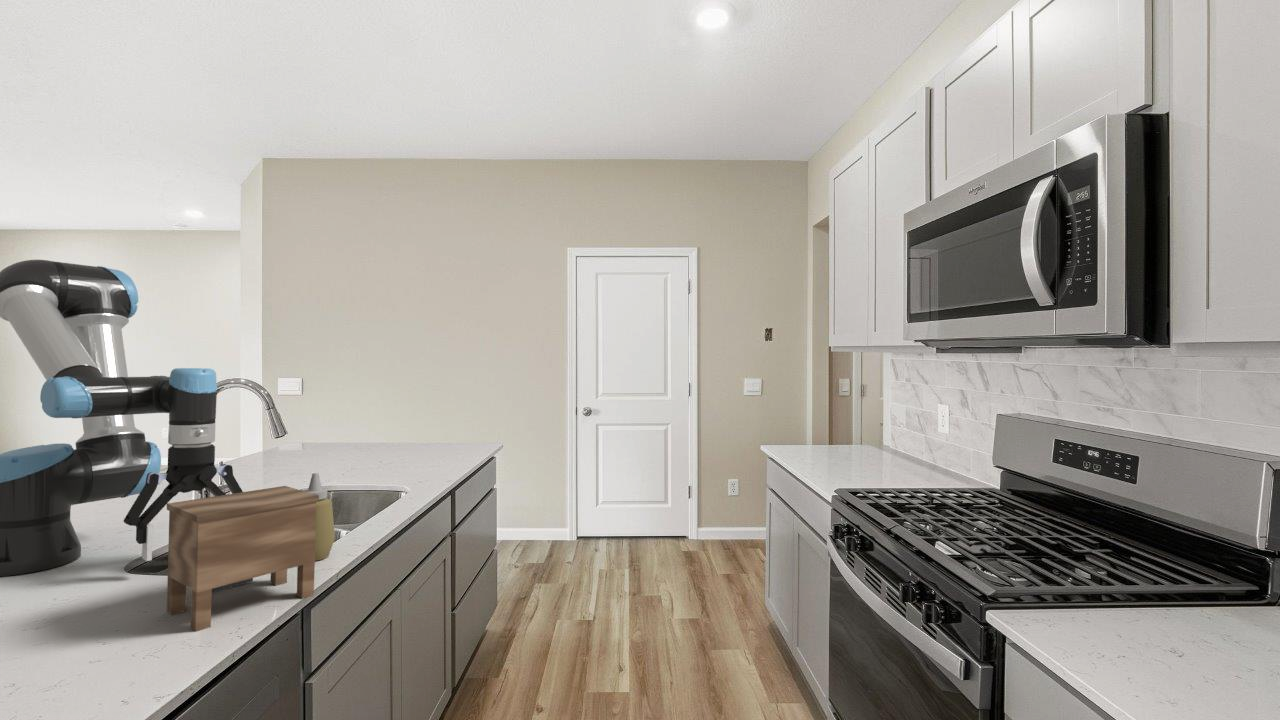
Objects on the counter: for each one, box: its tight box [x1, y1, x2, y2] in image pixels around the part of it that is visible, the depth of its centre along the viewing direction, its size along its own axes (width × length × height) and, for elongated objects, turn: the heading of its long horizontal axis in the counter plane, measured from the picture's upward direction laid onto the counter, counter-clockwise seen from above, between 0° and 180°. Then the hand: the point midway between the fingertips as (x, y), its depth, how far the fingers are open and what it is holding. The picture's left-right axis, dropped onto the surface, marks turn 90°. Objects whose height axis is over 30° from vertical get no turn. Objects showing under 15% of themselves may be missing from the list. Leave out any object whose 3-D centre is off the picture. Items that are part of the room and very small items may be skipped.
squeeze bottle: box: [304, 472, 336, 562], centre depth 126 cm, size 8×8×18 cm
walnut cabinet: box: [166, 485, 319, 632], centre depth 102 cm, size 13×19×18 cm
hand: (189, 550), depth 118 cm, fingers open, 13 cm apart
